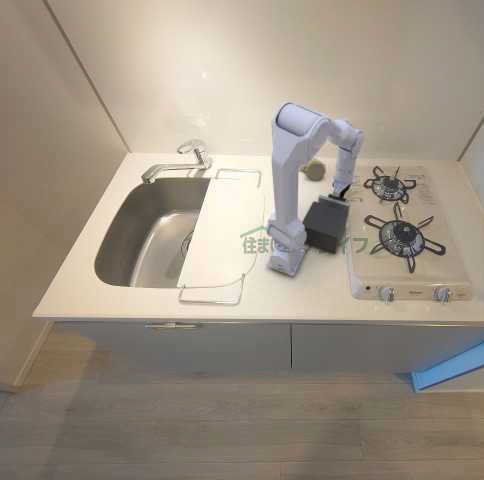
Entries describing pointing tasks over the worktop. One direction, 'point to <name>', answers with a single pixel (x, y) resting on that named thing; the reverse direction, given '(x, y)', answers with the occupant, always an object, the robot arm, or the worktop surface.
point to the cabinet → (324, 226)
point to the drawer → (334, 202)
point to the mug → (314, 169)
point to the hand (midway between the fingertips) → (339, 197)
